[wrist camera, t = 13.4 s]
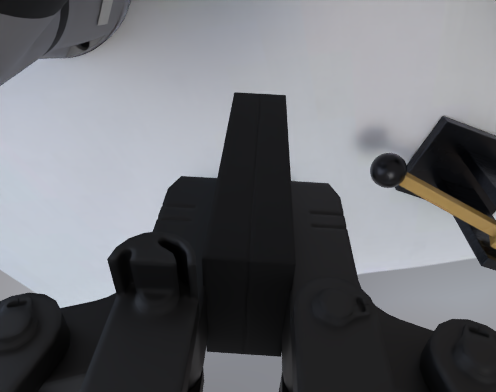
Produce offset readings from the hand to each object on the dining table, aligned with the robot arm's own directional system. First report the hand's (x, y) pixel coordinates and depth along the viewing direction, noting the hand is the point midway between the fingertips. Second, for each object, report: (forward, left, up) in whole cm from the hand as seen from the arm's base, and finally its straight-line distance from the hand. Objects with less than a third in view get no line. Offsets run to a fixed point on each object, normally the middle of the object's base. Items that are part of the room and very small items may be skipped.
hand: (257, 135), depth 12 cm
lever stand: (+27, -10, -26) cm, 38 cm away
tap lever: (+22, -10, -19) cm, 30 cm away
